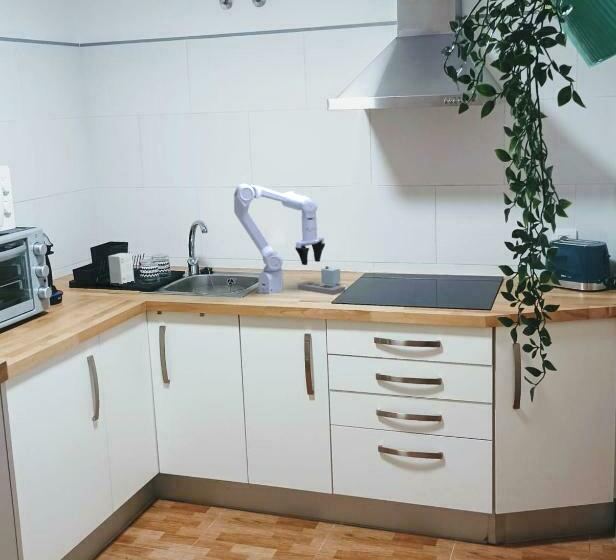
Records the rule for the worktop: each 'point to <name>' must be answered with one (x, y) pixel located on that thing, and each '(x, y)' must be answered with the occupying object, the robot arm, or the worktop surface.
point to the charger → (330, 275)
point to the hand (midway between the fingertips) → (311, 263)
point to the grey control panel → (321, 288)
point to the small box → (121, 268)
